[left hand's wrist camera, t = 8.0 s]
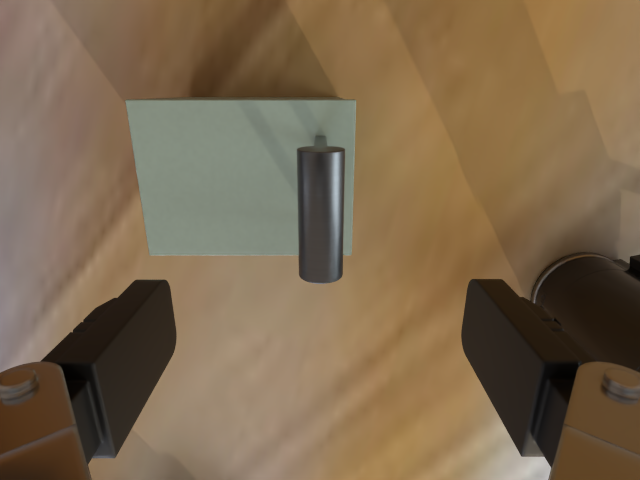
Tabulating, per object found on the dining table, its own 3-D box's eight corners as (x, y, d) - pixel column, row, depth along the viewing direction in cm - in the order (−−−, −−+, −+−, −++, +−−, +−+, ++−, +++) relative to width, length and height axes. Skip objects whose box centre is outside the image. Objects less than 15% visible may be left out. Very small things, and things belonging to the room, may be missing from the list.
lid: (354, 99, 25) (373, 103, 16) (350, 249, 29) (364, 319, 20) (132, 99, 25) (32, 103, 16) (155, 249, 29) (82, 319, 20)
